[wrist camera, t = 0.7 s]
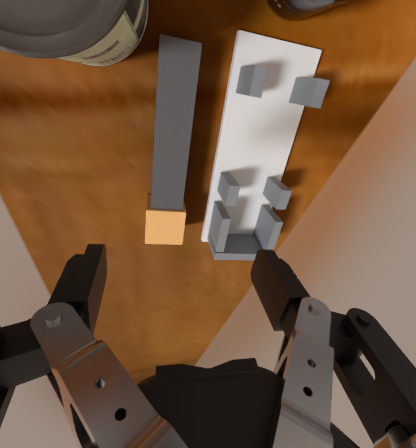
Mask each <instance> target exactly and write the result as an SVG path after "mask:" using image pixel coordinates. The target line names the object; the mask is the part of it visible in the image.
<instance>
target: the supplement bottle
mask: <svg viewBox="0 0 416 448" xmlns="http://www.w3.org/2000/svg"><path fill="white" fill-rule="evenodd" d="M348 1H351V0H267V2H268V4H269V6H270V8H271V9H272V10H273V12H274V13H275V14H277V15H278V16H279V17H281V18H283V19H285V20H290V21H296V20H301V19H304V18H307V17H309V16H312V15H315V14H317V13H320V12H323V11H325V10H328V9H330V8H333V7H335V6H338V5H341V4H343V3H346V2H348Z"/></svg>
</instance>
